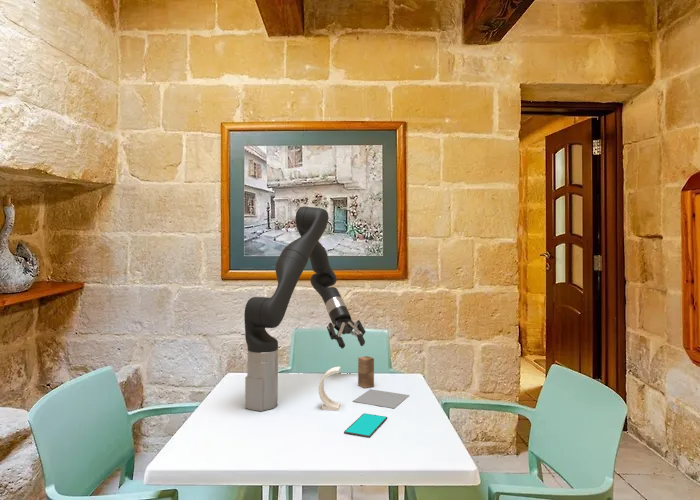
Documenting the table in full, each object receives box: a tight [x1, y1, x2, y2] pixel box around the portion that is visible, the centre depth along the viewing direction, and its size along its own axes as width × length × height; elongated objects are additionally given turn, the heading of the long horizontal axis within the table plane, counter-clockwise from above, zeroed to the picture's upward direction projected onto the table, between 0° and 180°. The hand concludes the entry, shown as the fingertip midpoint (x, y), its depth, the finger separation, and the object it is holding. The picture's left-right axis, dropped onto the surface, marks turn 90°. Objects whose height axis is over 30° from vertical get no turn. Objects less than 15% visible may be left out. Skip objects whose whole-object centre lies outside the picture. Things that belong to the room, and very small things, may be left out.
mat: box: [352, 388, 410, 409], centre depth 149 cm, size 14×14×1 cm
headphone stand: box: [318, 366, 341, 411], centre depth 140 cm, size 5×6×12 cm
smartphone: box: [343, 412, 388, 439], centre depth 126 cm, size 7×1×15 cm
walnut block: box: [357, 355, 375, 390], centre depth 162 cm, size 4×4×10 cm
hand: (353, 346), depth 170 cm, fingers open, 8 cm apart
